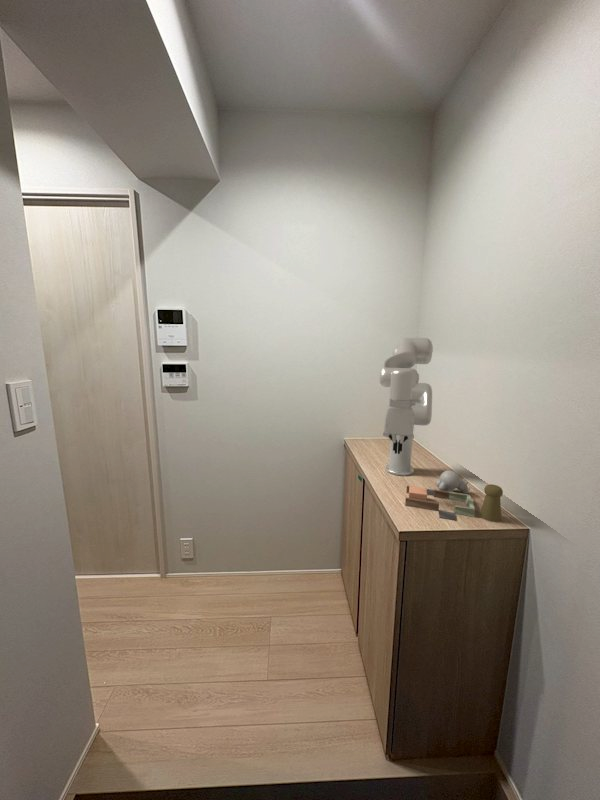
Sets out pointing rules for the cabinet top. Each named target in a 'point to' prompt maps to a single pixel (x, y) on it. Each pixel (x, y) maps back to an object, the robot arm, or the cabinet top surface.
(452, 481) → the toy rhinoceros
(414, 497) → the salmon block
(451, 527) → the cabinet top surface
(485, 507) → the cork
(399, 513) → the cabinet top surface
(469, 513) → the trap lane
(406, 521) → the cabinet top surface
